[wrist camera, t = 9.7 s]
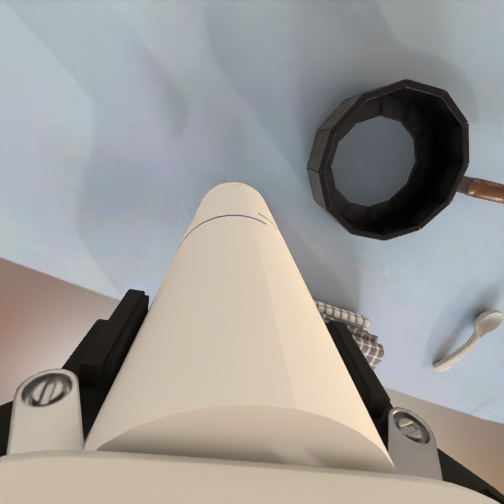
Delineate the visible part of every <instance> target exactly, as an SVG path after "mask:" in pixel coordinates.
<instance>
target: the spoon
mask: <svg viewBox="0 0 504 504" xmlns="http://www.w3.org/2000/svg"><path fill="white" fill-rule="evenodd" d="M502 320H503V315H502V313H501V312H500V311H498V310H488V311H485V312H483V313H481V314H480V315H479V316H478V317H477V318H476V320H475V322H474V332H473V334H472V336H471V337H470V338H469V340H468V341H467V342H466V343H465V344H464V345H463V346H462V347H460V348H459V349H458V350H456V351H455V352H454V353H452V354H451V355H449V356H448V357H446V358H444V359H442V360H441V361H439V362H437V363H435V364H434V365H433V367H434V368H435V369H436V370H437V371H440V372H445V371H446V370H448V369H449V368H450V367H451V366H453V365H454V364H455V363H456V362H458V361H459V360H460V359H461V358H463V357H464V356H465V355H466V354H467V353H468V352H469V351H470V350H471V349H472V348H473V347H474V346H475V345H476V344H477V342H478V341H479V340H480V339H481V338H482V337H483V336H484V335H485V334H486V333H488V332H490V331H492V330H494V329H495V328H496V327H497V326H499V324H500V323H501V322H502Z"/></svg>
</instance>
